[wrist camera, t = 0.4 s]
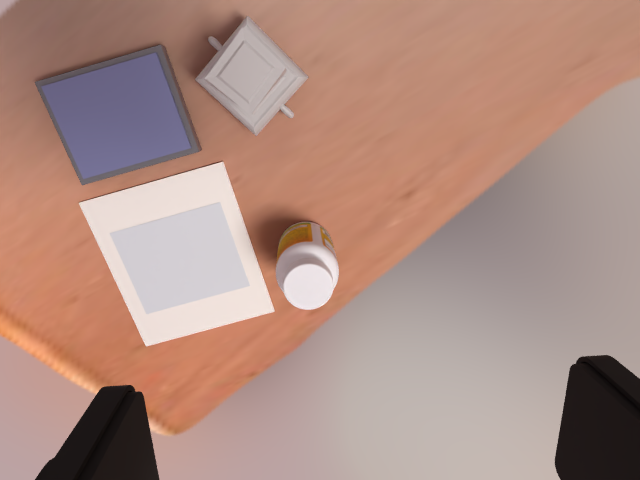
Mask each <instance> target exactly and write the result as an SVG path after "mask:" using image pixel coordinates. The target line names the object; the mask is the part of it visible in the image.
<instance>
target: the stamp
mask: <svg viewBox="0 0 640 480" xmlns="http://www.w3.org/2000/svg"><path fill="white" fill-rule="evenodd" d="M208 41H209V43H210V44H211V45H212V46H213V47H214V48H215V49H216V50H218V52H217V53H216V54H215V56H214V57H213V58H212V59H211V60H210V62H209V63H208V64H207V65H206V67H205V68H204V69H203V70H202V71H201V73H200V74H199V75H198V76H197V78H196V79H195V80H196V81H197V82H198V83H199V84H200V85H201V86H202V87H204V88H205V89H206V90H207V91H208V92H209V93H210V94H211V95H212V96H213V97H214V98H215V99H217V100H218V101H219V102H220V103H221V104H222V105H223V106H224V107H225V108H226V109H227V110H228V111H230V112H231V113H232V114H233V115H234V116H235V117H236V118H237V119H238V120H239V121H240V122H241V123H242V124H244V125H245V126H246V127H247V128H248V129H249V130H250V131H251V132H252V133H253V134H254V135H255V136H257V135H258V134H259V133H260V131H261V130H262V129H263V128H264V127H265V126H266V125H267V124H268V122H269V121H270V120H271V119H272V118H273V117H274V116H275V115H276V113H277V112H278V111H279V110H281V111H282V112H283V113H284V114H285V115H286V116H287V117H289V118H293V116H294V113H293V112H292V111H291V110H290V109H289V108H288V107H287V106H285V105H284V104H285V103H286V102H287V101H288V100H289V99H290V98H291V96H292V95H293V94H294V93H295V92H296V91H297V90H298V89H299V87H300V86H301V85H302V84H303V83H304V82H305V81H306V80H307V78H308V76H307V75H306V74H305V73H304V72H303V71H302V70H301V69H300V68H299V67H298V66H297V65H296V64H295V63H294V62H293V61H292V60H291V59H290V58H289V57H288V56H287V55H286V54H285V53H284V52H283V51H282V50H281V48H280V47H279V46H278V45H277V44H276V43H275V42H274V41H273V40H272V39H271V38H270V37H269V36H268V35H267V34H266V33H265V32H264V31H263V30H262V29H261V28H260V27H259V26H258V25H257V24H256V23H255V22H254V21H253V20H252V19H251V18H250V17H249V16H247V17H246V18H245V19H244V20H243V22H242V23H241V24H240V25H239V26H238V28H237V29H236V30H235V31H234V33H233V34H232V35H231V36H230V37H229V39H228V40H227V41H226V42H225V43H224V45H223V46H222V45H221V44H220V42H219V41H218V40H217V39H216V38H214V37H212V36H210V37H209V38H208Z"/></svg>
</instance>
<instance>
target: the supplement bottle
mask: <svg viewBox="0 0 640 480" xmlns="http://www.w3.org/2000/svg"><path fill="white" fill-rule="evenodd" d="M338 277H339V268H338V262H337V258H336V254H335V250H334V246H333V242H332V239H331V237H330V235H329V233H328V232H327V231H326V230H325V229H324V228H323V227H322V226H320V225H318V224H316V223H313V222H299V223H296V224H294V225H292V226H290V227H289V228H287V229H286V230H285V232H284V233H283V234H282V236H281V238H280V241H279V245H278V254H277V263H276V279H277V282H278V285H279V287H280V288H281V290H282V291H283V292H284V294H285V297H286V298H287V300H288V301H289V302H290V303H291V304H292V305H294V306H295V307H297V308H300V309H306V310H310V309H316V308H318V307H321V306H322V305H324V304H325V303H326V302H327V301H328V300H329V299H330V297H331V295H332V292H333V289H334V288H335V286H336V284H337V281H338Z"/></svg>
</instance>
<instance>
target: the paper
mask: <svg viewBox="0 0 640 480" xmlns="http://www.w3.org/2000/svg"><path fill="white" fill-rule="evenodd" d="M79 204H80V207H81V209H82V211H83V213H84V215H85V217H86V219H87V221H88V224H89V226H90V228H91V230H92V232H93V234H94V236H95V239H96V241H97V243H98V245H99V247H100V249H101V251H102V253H103V256H104V258H105V260H106V262H107V264H108V266H109V268H110V271H111V273H112V275H113V277H114V279H115V281H116V283H117V285H118V288H119V290H120V292H121V294H122V296H123V298H124V300H125V303H126V305H127V307H128V309H129V311H130V313H131V315H132V317H133V320H134V322H135V324H136V326H137V328H138V330H139V332H140V335H141V337H142V339H143V341H144V343H145V345H146V346H150V345H153V344H157V343H161V342H164V341H168V340H172V339H175V338H179V337H183V336H186V335H190V334H194V333H197V332H201V331H205V330H208V329H212V328H216V327H220V326H223V325H227V324H231V323H234V322H238V321H242V320H245V319H249V318H253V317H256V316H260V315H264V314H267V313H271V312H275V310H274V307H273V304H272V301H271V298H270V296H269V293H268V290H267V287H266V284H265V281H264V278H263V275H262V272H261V269H260V267H259V264H258V261H257V258H256V255H255V252H254V249H253V246H252V243H251V241H250V238H249V235H248V232H247V229H246V226H245V223H244V220H243V217H242V214H241V212H240V209H239V206H238V203H237V200H236V197H235V194H234V191H233V188H232V186H231V183H230V180H229V177H228V174H227V171H226V168H225V165H224V162H219V163H216V164H212V165H209V166H205V167H202V168H198V169H195V170H191V171H188V172H184V173H181V174H177V175H174V176H170V177H167V178H163V179H160V180H156V181H153V182H149V183H146V184H142V185H139V186H135V187H132V188H128V189H125V190H121V191H118V192H114V193H111V194H107V195H104V196H100V197H97V198H93V199H90V200H86V201H83V202H80V203H79Z"/></svg>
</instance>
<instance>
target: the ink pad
mask: <svg viewBox="0 0 640 480" xmlns="http://www.w3.org/2000/svg"><path fill="white" fill-rule="evenodd" d="M35 84H36V86H37V89H38V91H39V93H40V95H41V97H42V99H43V102H44V104H45V106H46V108H47V110H48V112H49V115H50V117H51V119H52V121H53V123H54V126H55V128H56V130H57V132H58V134H59V136H60V139H61V141H62V143H63V145H64V147H65V149H66V152H67V154H68V156H69V158H70V160H71V162H72V165H73V167H74V169H75V171H76V173H77V176H78V178H79V180H80V182H81V184H82V185H85V184H88V183H92V182H95V181H99V180H102V179H106V178H109V177H113V176H116V175H120V174H123V173H127V172H130V171H133V170H137V169H140V168H144V167H147V166H151V165H154V164H158V163H161V162H165V161H168V160H172V159H175V158H179V157H182V156H186V155H189V154H193V153H196V152H199V151H201V150H202V149H201V146H200V143H199V140H198V138H197V135H196V132H195V129H194V126H193V124H192V121H191V118H190V115H189V112H188V110H187V107H186V104H185V101H184V99H183V96H182V93H181V90H180V87H179V85H178V82H177V79H176V76H175V73H174V71H173V68H172V65H171V62H170V59H169V57H168V54H167V51H166V48H165V46H163V45H158V46H154V47H151V48H148V49H144V50H141V51H138V52H134V53H131V54H127V55H124V56H121V57H117V58H114V59H111V60H107V61H104V62H101V63H97V64H94V65H91V66H87V67H84V68H80V69H77V70H74V71H70V72H67V73H64V74H60V75H57V76H54V77H50V78H47V79H43V80H40V81H37V82H35Z"/></svg>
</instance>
